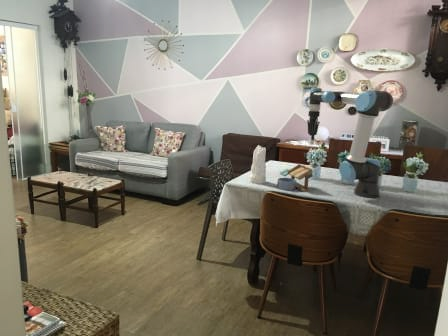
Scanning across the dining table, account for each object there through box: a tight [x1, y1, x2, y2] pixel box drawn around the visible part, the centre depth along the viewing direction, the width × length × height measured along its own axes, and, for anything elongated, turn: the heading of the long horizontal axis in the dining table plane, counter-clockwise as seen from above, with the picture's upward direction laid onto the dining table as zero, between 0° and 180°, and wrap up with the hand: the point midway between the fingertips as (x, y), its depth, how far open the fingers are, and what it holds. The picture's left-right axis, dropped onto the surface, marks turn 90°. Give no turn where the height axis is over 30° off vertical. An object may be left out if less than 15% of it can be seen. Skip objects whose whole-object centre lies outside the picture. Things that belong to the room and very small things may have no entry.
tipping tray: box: [279, 163, 314, 181], centre depth 240 cm, size 23×13×6 cm, turn 17°
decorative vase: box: [249, 144, 267, 185], centre depth 247 cm, size 11×11×25 cm
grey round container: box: [276, 177, 298, 191], centre depth 236 cm, size 11×11×6 cm
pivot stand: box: [290, 175, 312, 193], centre depth 238 cm, size 20×6×10 cm, turn 17°
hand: (311, 144), depth 255 cm, fingers closed
